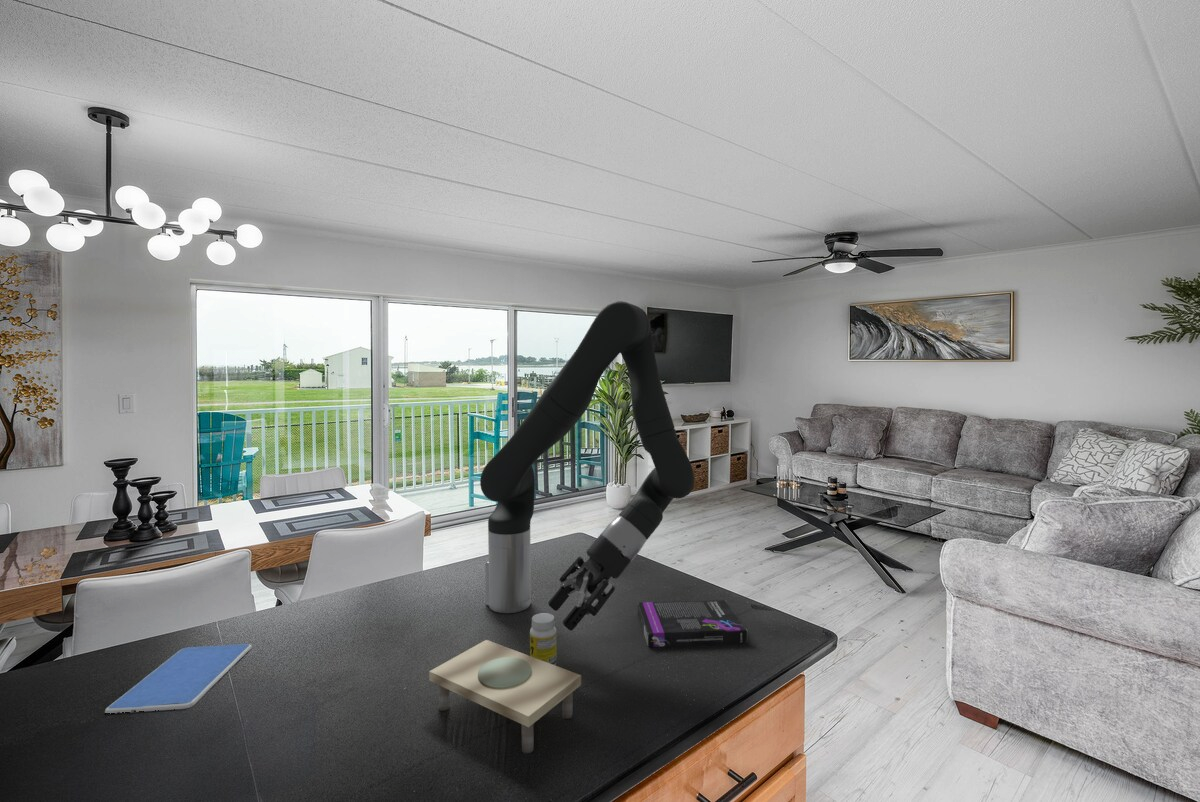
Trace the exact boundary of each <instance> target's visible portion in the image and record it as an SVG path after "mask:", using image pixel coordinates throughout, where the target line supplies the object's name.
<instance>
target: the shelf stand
mask: <svg viewBox="0 0 1200 802" xmlns="http://www.w3.org/2000/svg"><path fill="white" fill-rule="evenodd" d="M428 675H429V678H428V679H429V682H432V683H433V684H436V685H437V687H438V710H439V711H442V712H443V711H447V710H449V709H450V707H451V706H450V704H451V703H450V692H452V693H455V694H457V695H459V696H461V697H463V698H464V699H468V700H469V701H471V702H473V703H475V704H477V705H481V706H482V707H484V708H486V709H488V710H490V711H493V712H494V713H497V714H500V715H501V716H503V717H505V718H507V719H510V720H511V721H514V722H515V723H519V724H520V725H521V751H522V753H523V754H531V753H533V751H534V748H535V746H534V745H535V744H534V743H535V742H534V741H535V740H534V737H535V736H534V724H535V723H536V722H537V721H538V720H540V719H541V718H542V717H543V716H545V715H546V714H547V713H548V712H550V711H551V710H552V709H553V708H554V707H556V706H557V705H558V704H559V703H561V717H562V719H566V720H567V719H571V718H572V717H573V713H574V712H573V711H574V710H573V707H574V706H573V698H574V697H573V692H575V691H576V690H577V688H579V687H581V686H582V674H579V673H577V672H573V671H570V670H568V669H565V668H563V667H560V666H558V665H552V664H550V663H547V662H544V661H542V660H539V659H536V658H534V657H531V656H530V655H528V654H525V653H523V652H520V651H518V650H515V649H512V648H509V647H507V646H505V645H501V644H499V643H497V642H496V643H495V642H494V641H491V640H489V639H485V640H483V641H481V642H479V643H478V644H476V645H474V646H473V647H471V648H468V649H467V650H465V651H464V652H462V653H460V654H458V655H456V656H454V657H452V658H450V659H449V660H447V661H446V662H443V663H442V664H440V665H438V666H437V667H434V668H433V669H431V670H429V672H428Z"/></svg>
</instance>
